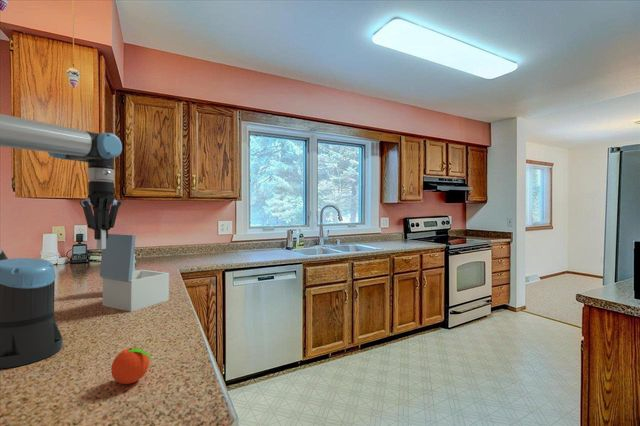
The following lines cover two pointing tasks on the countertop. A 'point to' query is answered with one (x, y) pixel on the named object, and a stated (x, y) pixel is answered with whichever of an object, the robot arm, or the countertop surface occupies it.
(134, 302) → the storage box
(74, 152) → the robot arm
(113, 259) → the lid
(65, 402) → the countertop surface
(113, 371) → the clementine
